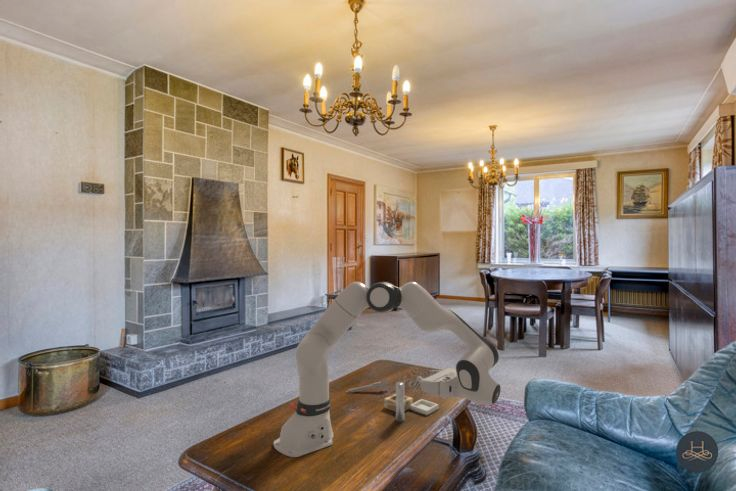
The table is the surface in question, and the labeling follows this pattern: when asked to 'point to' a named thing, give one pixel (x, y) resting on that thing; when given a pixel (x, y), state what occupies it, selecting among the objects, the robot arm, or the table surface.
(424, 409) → the tray
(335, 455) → the table surface
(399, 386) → the grey rounded cylinder
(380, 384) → the caliper
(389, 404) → the bore block
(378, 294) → the robot arm
